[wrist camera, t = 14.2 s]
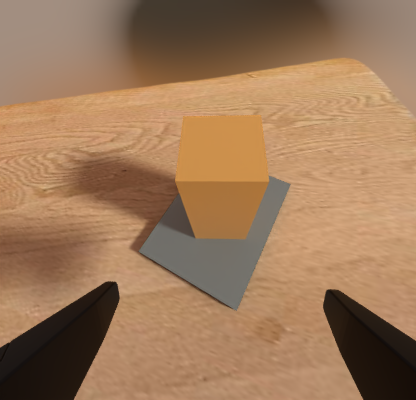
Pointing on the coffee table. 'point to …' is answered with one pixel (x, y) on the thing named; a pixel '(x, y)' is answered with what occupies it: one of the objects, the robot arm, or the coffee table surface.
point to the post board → (214, 248)
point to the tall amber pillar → (222, 174)
